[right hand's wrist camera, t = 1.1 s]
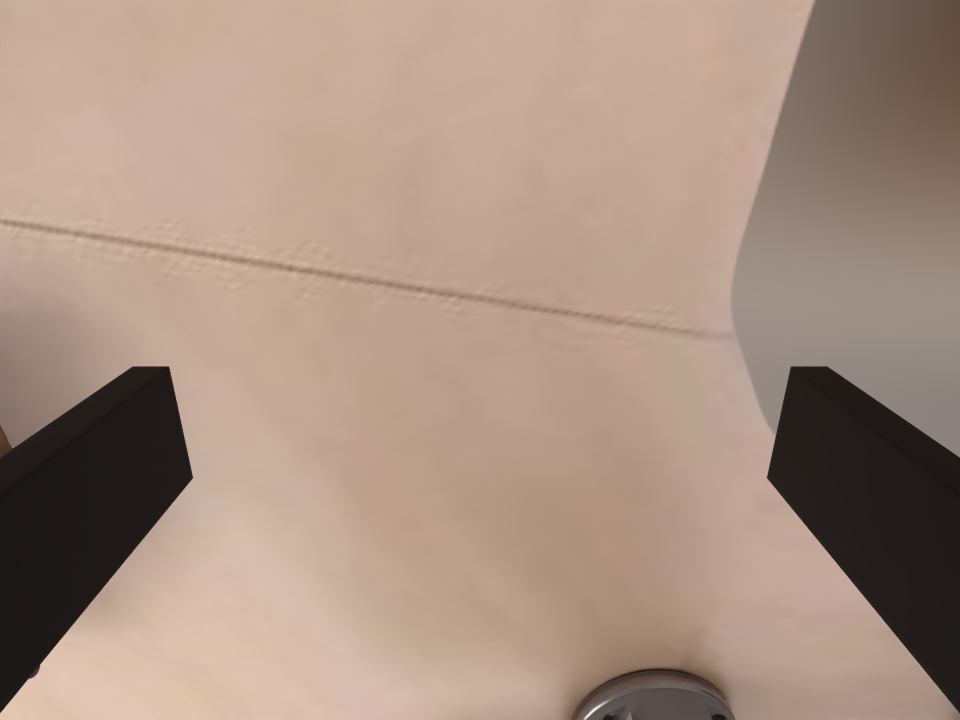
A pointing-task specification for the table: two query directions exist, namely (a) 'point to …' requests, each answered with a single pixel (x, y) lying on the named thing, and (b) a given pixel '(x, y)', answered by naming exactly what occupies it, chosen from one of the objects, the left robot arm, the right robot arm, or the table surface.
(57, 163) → the table surface
